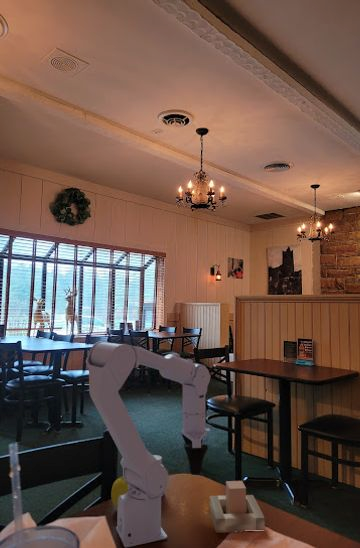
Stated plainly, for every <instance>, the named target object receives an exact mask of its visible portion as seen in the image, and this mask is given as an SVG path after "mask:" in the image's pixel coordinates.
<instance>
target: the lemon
mask: <svg viewBox="0 0 360 548" xmlns="http://www.w3.org/2000/svg"><path fill="white" fill-rule="evenodd" d="M128 492H129V489H128V483H127V482H126V481H125V480H124V478H123V475H122V476H120V477H119V478H117V479H116V480H115V481H114V482H113V484H112V488H111V493H110V497H111V501H112V504H113V506H114V507H115V508H117V509H118V498H119V496H121V495H124V494H126V493H128Z"/></svg>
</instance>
